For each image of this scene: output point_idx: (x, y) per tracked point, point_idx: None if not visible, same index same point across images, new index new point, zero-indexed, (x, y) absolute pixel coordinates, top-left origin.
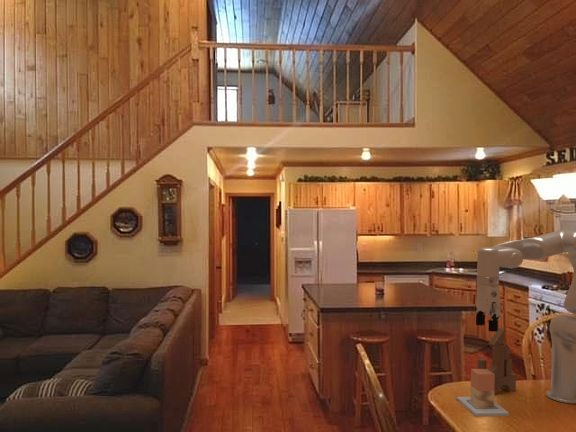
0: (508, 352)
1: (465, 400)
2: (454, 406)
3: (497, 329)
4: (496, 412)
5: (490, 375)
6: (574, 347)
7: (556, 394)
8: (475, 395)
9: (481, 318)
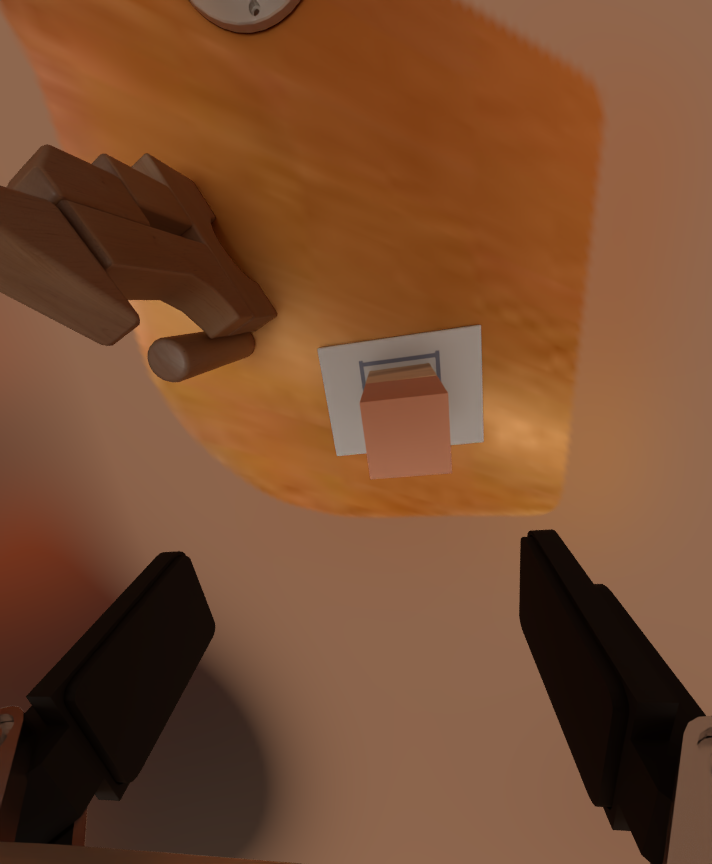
0: (90, 174)
1: None
2: None
3: (563, 546)
4: (475, 370)
5: (448, 413)
6: None
7: None
8: None
9: (144, 673)
